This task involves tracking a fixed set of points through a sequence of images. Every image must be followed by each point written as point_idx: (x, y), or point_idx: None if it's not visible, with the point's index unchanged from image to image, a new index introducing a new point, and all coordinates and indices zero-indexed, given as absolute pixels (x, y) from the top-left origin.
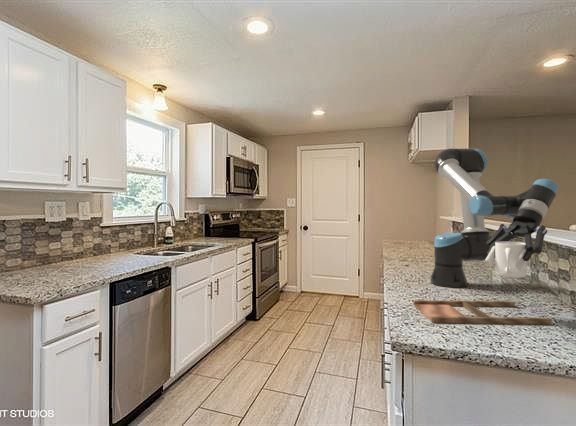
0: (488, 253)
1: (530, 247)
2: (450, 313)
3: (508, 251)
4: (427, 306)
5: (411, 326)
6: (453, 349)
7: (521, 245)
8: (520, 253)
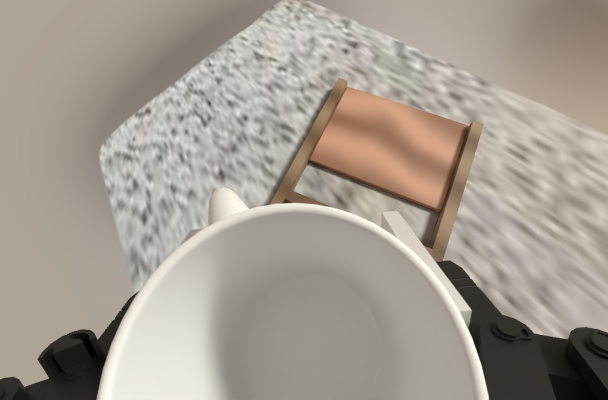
0: (441, 263)
1: (50, 370)
2: (365, 152)
3: (218, 200)
4: (437, 141)
5: (336, 44)
6: (227, 42)
7: (123, 321)
8: None
